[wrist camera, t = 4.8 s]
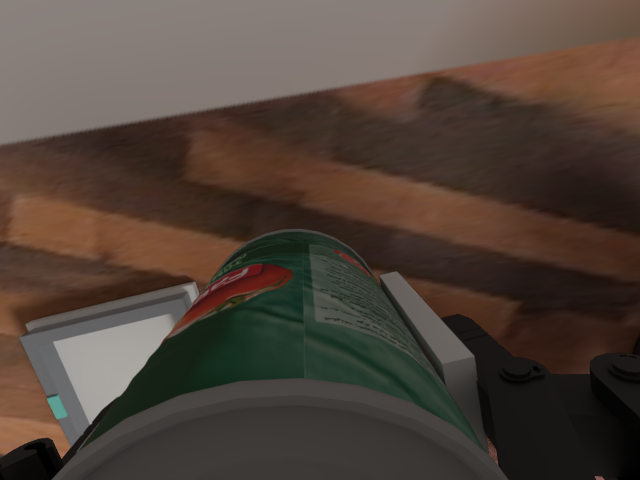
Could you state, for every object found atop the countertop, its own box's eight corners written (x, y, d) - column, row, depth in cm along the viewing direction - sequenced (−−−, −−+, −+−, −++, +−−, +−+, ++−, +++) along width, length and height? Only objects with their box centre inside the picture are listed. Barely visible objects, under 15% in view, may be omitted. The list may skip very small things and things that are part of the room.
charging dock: (195, 281, 29) (185, 291, 27) (240, 419, 32) (236, 440, 30) (32, 320, 29) (8, 334, 27) (94, 455, 32) (77, 479, 30)
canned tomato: (212, 218, 15) (-39, 364, 4) (394, 238, 15) (620, 412, 4) (202, 385, 16) (6, 819, 5) (367, 397, 17) (487, 810, 6)
